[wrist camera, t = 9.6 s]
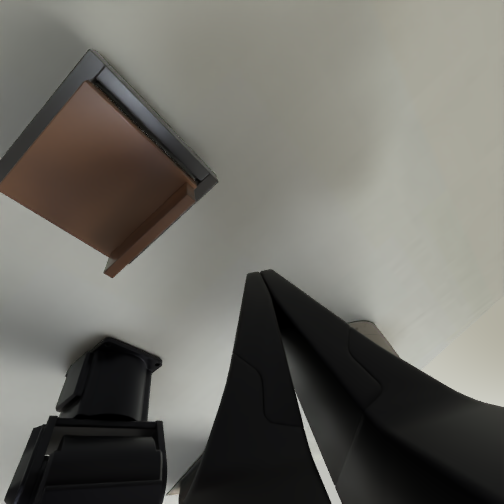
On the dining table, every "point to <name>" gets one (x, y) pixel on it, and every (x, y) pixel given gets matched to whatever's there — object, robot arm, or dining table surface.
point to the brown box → (103, 165)
